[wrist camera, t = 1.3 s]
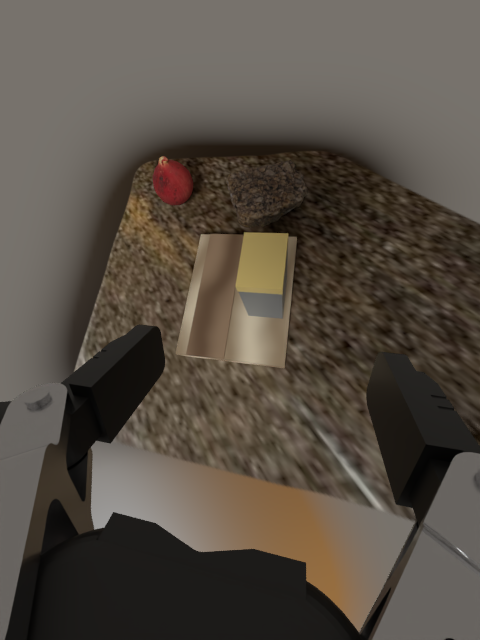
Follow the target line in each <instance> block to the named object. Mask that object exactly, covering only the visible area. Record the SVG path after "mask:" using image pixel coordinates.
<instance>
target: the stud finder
mask: <svg viewBox="0 0 480 640" xmlns="http://www.w3.org/2000/svg"><path fill="white" fill-rule="evenodd" d="M287 255H288V233H250V232H244V237H243V243H242V249H241V255H240V261H239V268H238V274H237V280H236V286H235V287H236V289H237V291H238V292H239V294H240V297H241V299H242V301H243V304H244V306H245V309H246V311H247V313H248V316H258V317H269V318H281V319H283V311H284V302H285V292H286V282H287Z"/></svg>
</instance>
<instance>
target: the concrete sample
mask: <svg viewBox="0 0 480 640" xmlns="http://www.w3.org/2000/svg"><path fill="white" fill-rule="evenodd" d="M295 167H296V166H295V164H294V163H293V162H292V161H291V160H290V161H286V162H285V161H281V162H278V163H277V164H275V165H268V164H266V165H265V166H261V167H257V168H255V167H252V168H244V169H242V170H241V171H239V172H236V173H231V174H229V175H228V178H227V180H226V183H227V184H228V189H229V191H230V196H231V199H232V200H231V202H232V204H233V206H234V209H235V211H236V214H237V220H238V222H239V223H240V224H241V225H242V226H244V227H254V226H256V225H258V226H259V225H260V226H261V227H264V226H265V225H268V224H270V223H274V222H277V221H278V220H279V219H280V217H281V216H283V215H285V214H286V213H288V212H289V211H291V210H292V209H294V208H298V207H300V205H301V203H302V201H303V198H304V197H305V196H307V187H306V185H305V183H304V181H303V174H302V173H300V172H299V171H297V170H296V169H295Z"/></svg>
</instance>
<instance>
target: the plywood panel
mask: <svg viewBox="0 0 480 640" xmlns="http://www.w3.org/2000/svg"><path fill="white" fill-rule="evenodd" d="M243 237H244V235H238V234H210V235H206V234H201V237H200V242H199V247H198V251H197V256H196V261H195V265H194V270H193V275H192V279H191V284H190V289H189V293H188V298H187V303H186V307H185V312H184V317H183V321H182V326H181V331H180V335H179V340H178V345H177V349H176V354H178V355H182V356H190V357H198V358H206V359H214V360H222V361H230V362H238V363H246V364H254V365H262V366H270V367H278V368H285V359H286V349H287V338H288V328H289V317H290V307H291V296H292V286H293V275H294V265H295V254H296V244H297V237H288V255H287V282H286V292H285V302H284V311H283V319H281V318H269V317H258V316H248V313H247V311H246V309H245V306H244V304H243V301H242V299H241V297H240V294H239V292H238V291H237V289H236V287H235V286H236V280H237V274H238V268H239V261H240V255H241V249H242V243H243Z"/></svg>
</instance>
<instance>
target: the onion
mask: <svg viewBox="0 0 480 640" xmlns="http://www.w3.org/2000/svg"><path fill="white" fill-rule="evenodd" d="M153 184H154V189H155V191H156V193H157V194H158V196H159V197H160V198H161V199H162V201H163V202H165V203H167V204H170V205H181V204H183V203H185V202H186V201H187V200H188V199H189V197H190V196H191V194H192V191H193V180H192V177H191V174H190V172H189V171H188V169H187V168H186V167H184V166H183V165H182V164H181V163H179V162H177V161H173V160H168V159H167V158H166V157H164V156H162V157H160V159H159V164H158V165H157V166H156V168H155V170H154V174H153Z"/></svg>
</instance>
